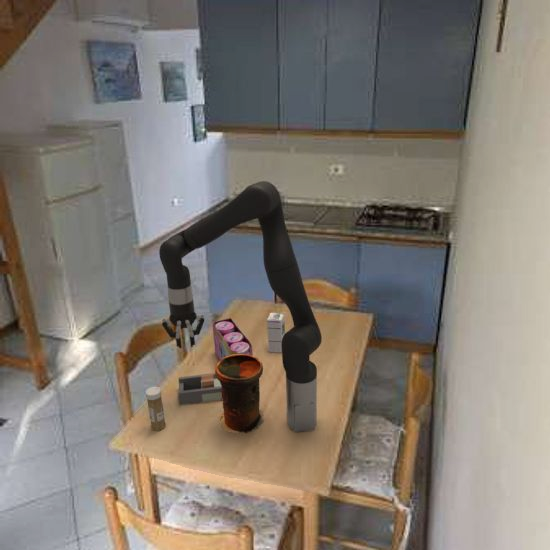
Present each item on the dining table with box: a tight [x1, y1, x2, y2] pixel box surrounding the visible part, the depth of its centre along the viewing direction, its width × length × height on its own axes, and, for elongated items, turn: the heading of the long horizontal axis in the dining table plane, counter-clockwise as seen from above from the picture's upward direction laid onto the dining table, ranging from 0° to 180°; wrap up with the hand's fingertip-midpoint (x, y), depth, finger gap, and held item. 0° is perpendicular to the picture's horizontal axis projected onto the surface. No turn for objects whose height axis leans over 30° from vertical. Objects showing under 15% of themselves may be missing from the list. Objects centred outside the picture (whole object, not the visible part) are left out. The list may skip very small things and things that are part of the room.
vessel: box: [214, 354, 265, 434], centre depth 151 cm, size 14×14×20 cm
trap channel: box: [177, 372, 222, 406], centre depth 167 cm, size 9×22×4 cm, turn 100°
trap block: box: [200, 373, 214, 389], centre depth 166 cm, size 4×4×3 cm
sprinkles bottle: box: [145, 386, 167, 432], centre depth 150 cm, size 5×5×14 cm
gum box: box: [212, 317, 254, 361], centre depth 180 cm, size 24×8×14 cm, turn 24°
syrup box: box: [266, 312, 286, 354], centre depth 190 cm, size 6×6×14 cm
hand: (186, 346), depth 160 cm, fingers open, 3 cm apart
